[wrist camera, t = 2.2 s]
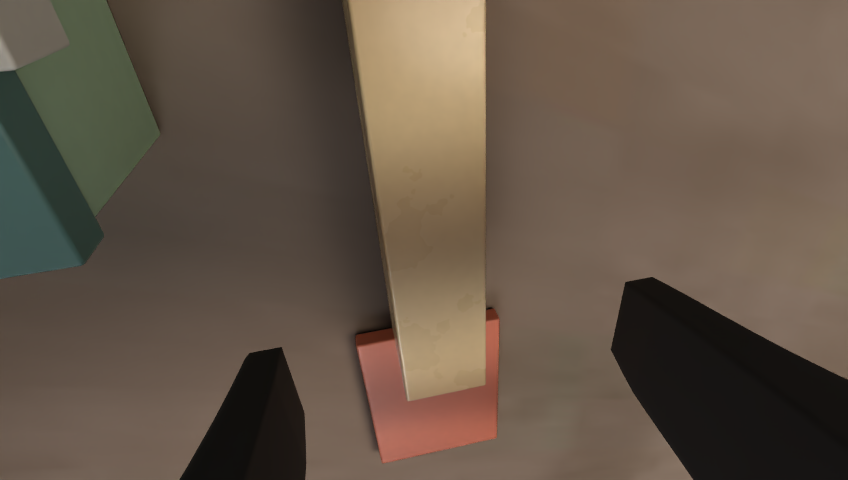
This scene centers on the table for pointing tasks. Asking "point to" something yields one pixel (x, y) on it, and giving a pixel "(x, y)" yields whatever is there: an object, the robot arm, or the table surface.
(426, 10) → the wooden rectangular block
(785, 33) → the table surface
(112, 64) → the tiffin box
